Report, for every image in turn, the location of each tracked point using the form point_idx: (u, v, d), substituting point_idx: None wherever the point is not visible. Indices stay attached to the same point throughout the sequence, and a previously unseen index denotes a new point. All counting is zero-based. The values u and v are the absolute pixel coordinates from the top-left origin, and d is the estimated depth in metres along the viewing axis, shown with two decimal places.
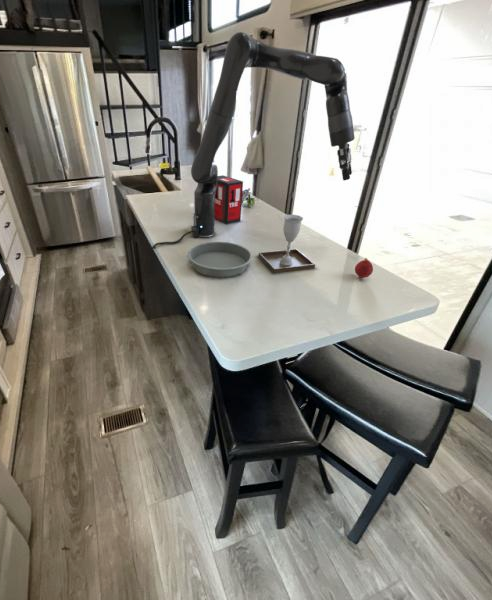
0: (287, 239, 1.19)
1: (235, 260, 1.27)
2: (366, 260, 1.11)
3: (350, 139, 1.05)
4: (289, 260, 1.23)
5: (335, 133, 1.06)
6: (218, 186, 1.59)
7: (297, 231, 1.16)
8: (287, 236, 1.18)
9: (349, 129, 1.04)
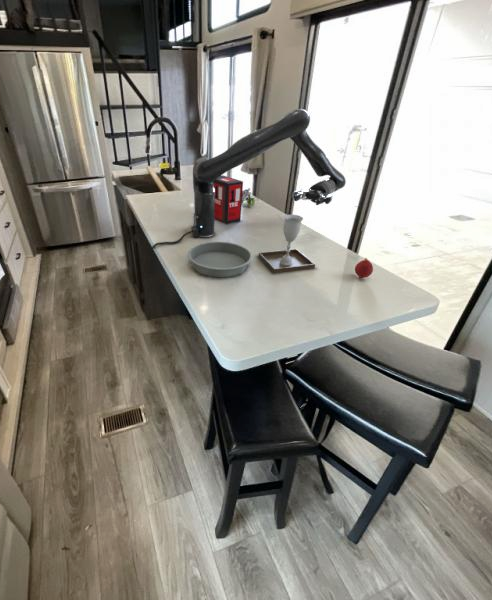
0: (287, 239, 1.19)
1: (235, 260, 1.27)
2: (366, 260, 1.11)
3: None
4: (289, 260, 1.23)
5: (328, 189, 1.29)
6: (218, 186, 1.59)
7: (297, 231, 1.16)
8: (287, 236, 1.18)
9: None
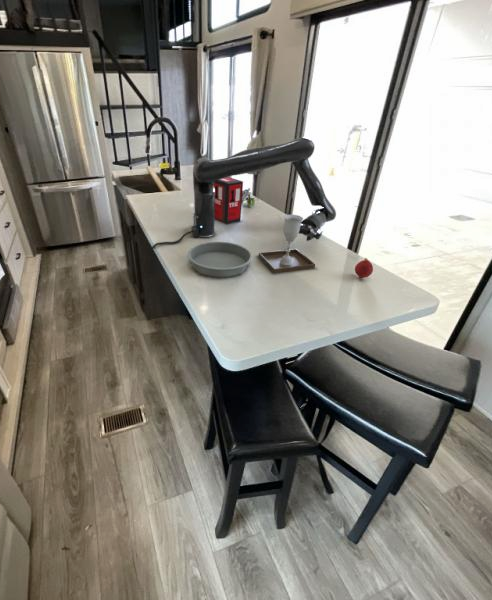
0: (287, 239, 1.19)
1: (235, 260, 1.27)
2: (366, 260, 1.11)
3: None
4: (289, 260, 1.23)
5: (319, 223, 1.35)
6: (218, 186, 1.59)
7: (297, 231, 1.16)
8: (287, 236, 1.18)
9: None
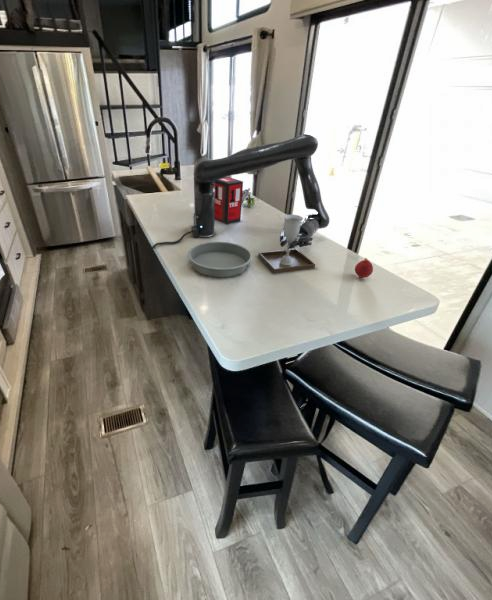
0: (287, 239, 1.19)
1: (235, 260, 1.27)
2: (366, 260, 1.11)
3: (304, 242, 1.28)
4: (289, 260, 1.23)
5: (311, 230, 1.28)
6: (218, 186, 1.59)
7: (297, 231, 1.16)
8: (287, 236, 1.18)
9: None
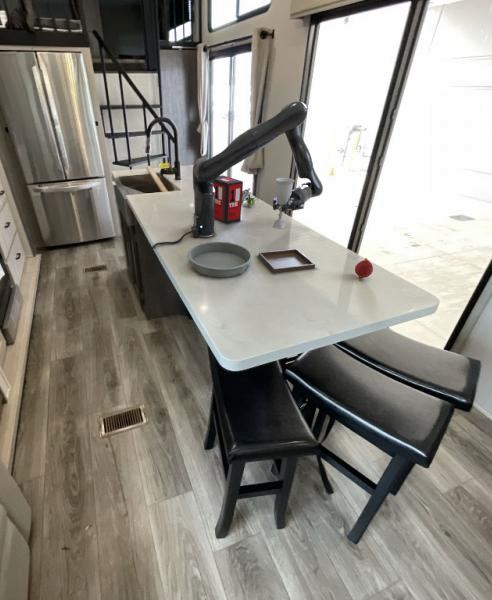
0: (279, 202, 1.21)
1: (235, 260, 1.27)
2: (366, 260, 1.11)
3: None
4: (281, 224, 1.25)
5: (303, 195, 1.30)
6: (218, 186, 1.59)
7: (289, 193, 1.18)
8: (279, 199, 1.19)
9: None
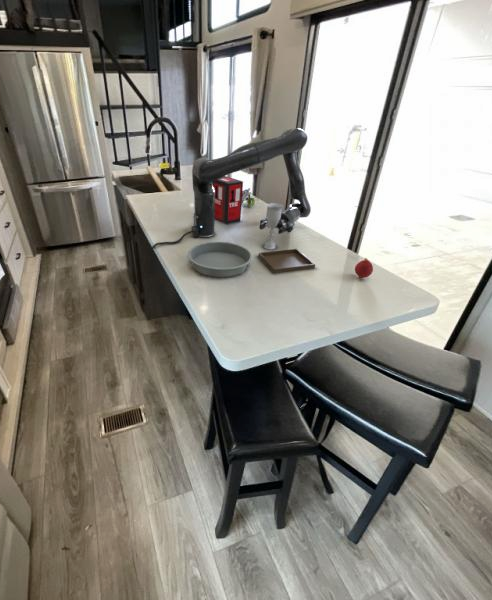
0: (270, 225, 1.32)
1: (235, 260, 1.27)
2: (366, 260, 1.11)
3: None
4: (272, 245, 1.37)
5: (292, 217, 1.41)
6: (218, 186, 1.59)
7: (278, 218, 1.29)
8: (269, 222, 1.31)
9: None
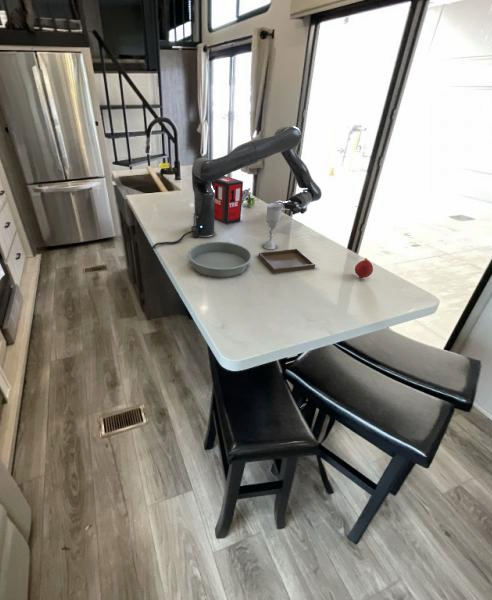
0: (270, 225, 1.32)
1: (235, 260, 1.27)
2: (366, 260, 1.11)
3: None
4: (272, 245, 1.37)
5: (305, 200, 1.47)
6: (218, 186, 1.59)
7: (278, 218, 1.29)
8: (269, 222, 1.31)
9: None
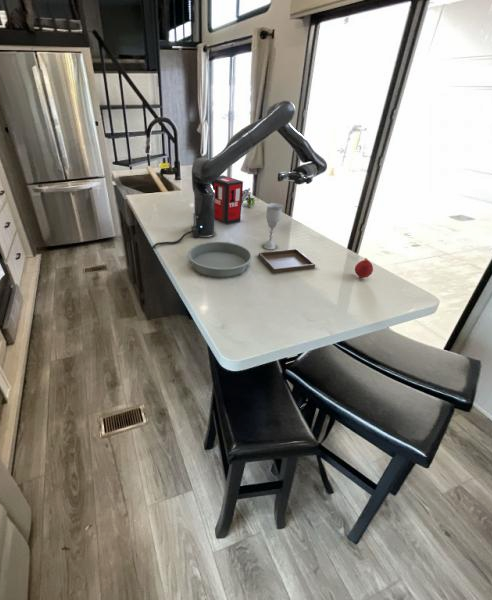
0: (270, 225, 1.32)
1: (235, 260, 1.27)
2: (366, 260, 1.11)
3: (304, 182, 1.41)
4: (272, 245, 1.37)
5: (310, 171, 1.40)
6: (218, 186, 1.59)
7: (278, 218, 1.29)
8: (269, 222, 1.31)
9: None
